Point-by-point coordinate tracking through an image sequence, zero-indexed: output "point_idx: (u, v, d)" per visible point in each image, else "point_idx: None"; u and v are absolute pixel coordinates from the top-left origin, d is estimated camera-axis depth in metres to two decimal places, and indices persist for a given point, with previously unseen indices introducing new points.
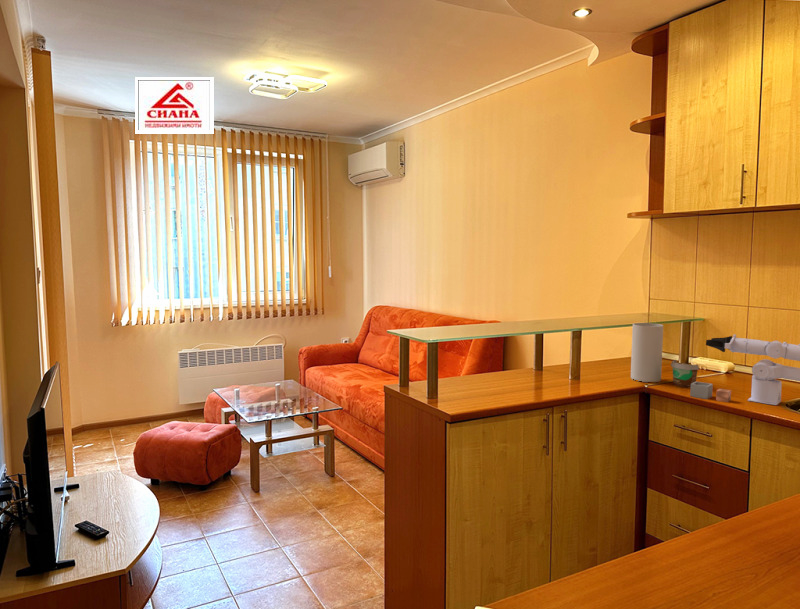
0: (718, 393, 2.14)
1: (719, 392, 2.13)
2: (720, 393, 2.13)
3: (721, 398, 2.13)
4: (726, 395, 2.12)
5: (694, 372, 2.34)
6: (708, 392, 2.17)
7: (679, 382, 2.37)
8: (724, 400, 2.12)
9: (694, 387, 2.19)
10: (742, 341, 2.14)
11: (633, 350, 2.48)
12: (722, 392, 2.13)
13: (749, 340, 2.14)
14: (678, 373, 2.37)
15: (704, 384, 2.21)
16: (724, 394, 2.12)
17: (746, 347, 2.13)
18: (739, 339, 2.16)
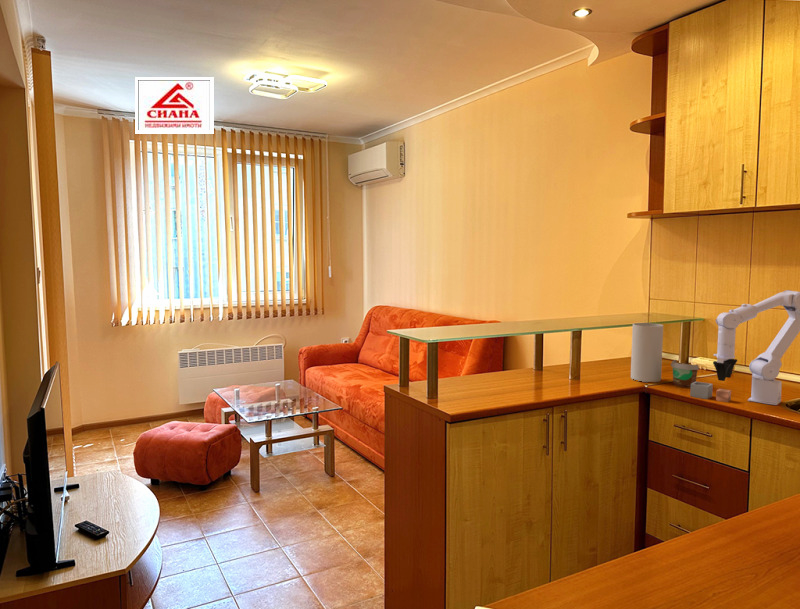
0: (718, 393, 2.14)
1: (719, 392, 2.13)
2: (720, 393, 2.13)
3: (721, 398, 2.13)
4: (726, 395, 2.12)
5: (694, 372, 2.34)
6: (708, 392, 2.17)
7: (679, 382, 2.37)
8: (724, 400, 2.12)
9: (694, 387, 2.19)
10: (719, 347, 2.12)
11: (633, 350, 2.48)
12: (722, 392, 2.13)
13: (721, 342, 2.11)
14: (678, 373, 2.37)
15: (704, 384, 2.21)
16: (724, 394, 2.12)
17: (724, 344, 2.10)
18: (717, 350, 2.13)
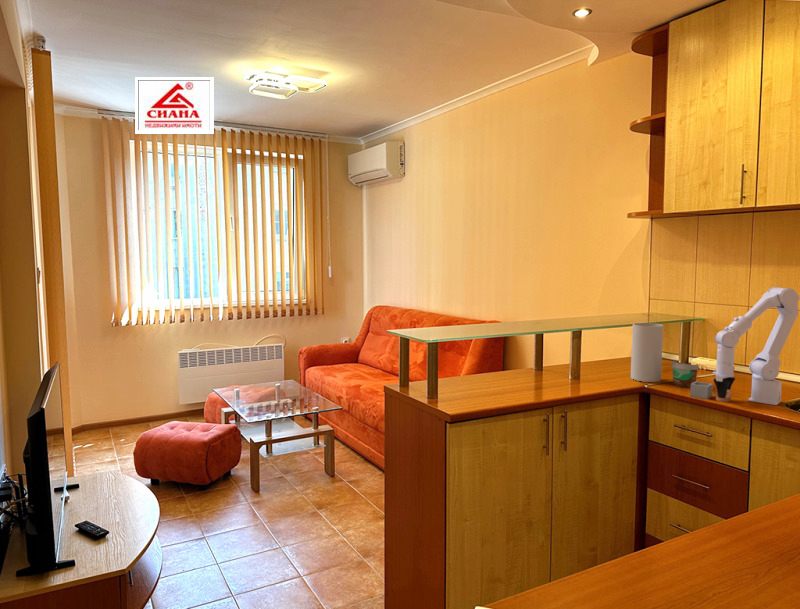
0: None
1: None
2: None
3: (721, 398, 2.13)
4: (726, 395, 2.12)
5: (694, 372, 2.34)
6: (708, 392, 2.17)
7: (679, 382, 2.37)
8: (724, 400, 2.12)
9: (694, 387, 2.19)
10: (718, 365, 2.13)
11: (633, 350, 2.48)
12: None
13: (720, 360, 2.12)
14: (678, 373, 2.37)
15: (704, 384, 2.21)
16: None
17: (723, 362, 2.11)
18: (716, 368, 2.14)
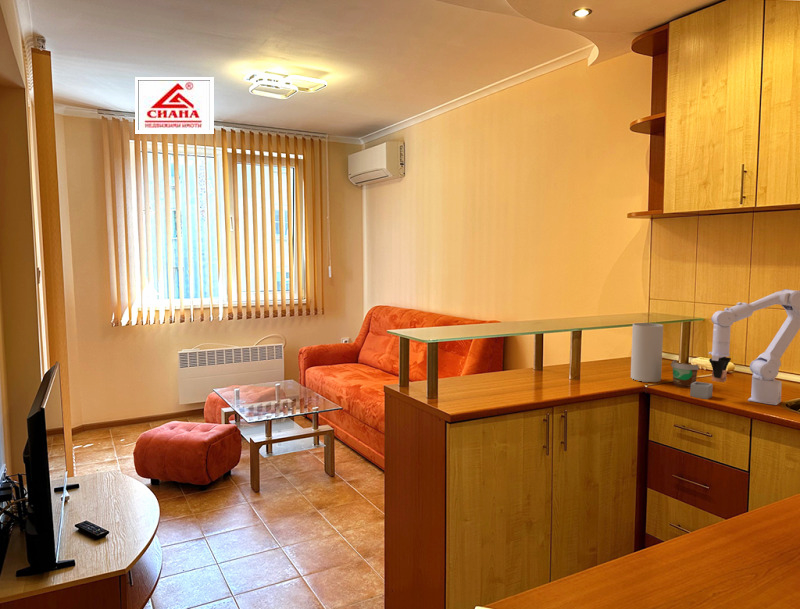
0: None
1: None
2: None
3: (717, 378, 2.14)
4: (722, 375, 2.12)
5: (694, 372, 2.34)
6: (708, 392, 2.17)
7: (679, 382, 2.37)
8: (720, 380, 2.13)
9: (694, 387, 2.19)
10: (714, 345, 2.14)
11: (633, 350, 2.48)
12: None
13: (715, 340, 2.13)
14: (678, 373, 2.37)
15: (704, 384, 2.21)
16: None
17: (719, 342, 2.11)
18: (712, 348, 2.15)
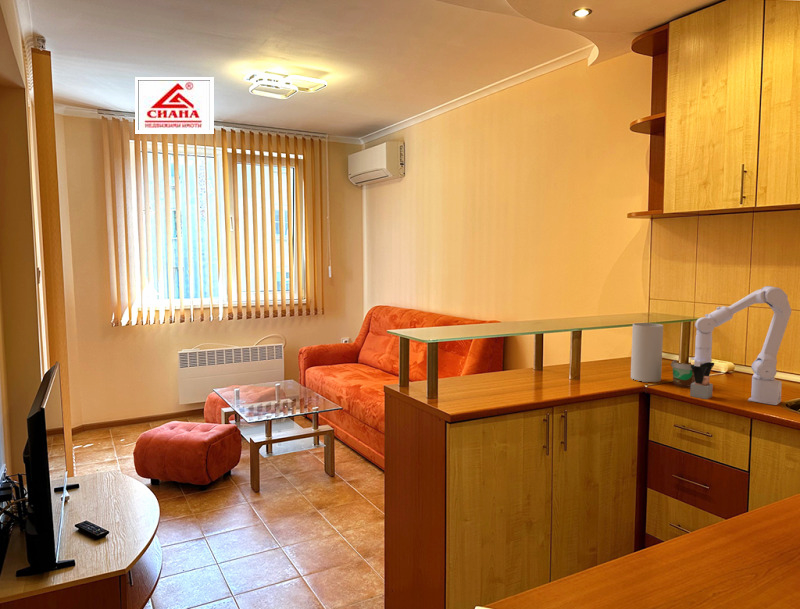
0: None
1: None
2: None
3: (700, 384, 2.19)
4: (704, 381, 2.17)
5: None
6: (708, 392, 2.17)
7: (679, 382, 2.37)
8: None
9: (694, 387, 2.19)
10: (696, 351, 2.18)
11: (633, 350, 2.48)
12: None
13: (696, 346, 2.18)
14: (678, 373, 2.37)
15: None
16: None
17: (701, 348, 2.16)
18: (695, 354, 2.20)
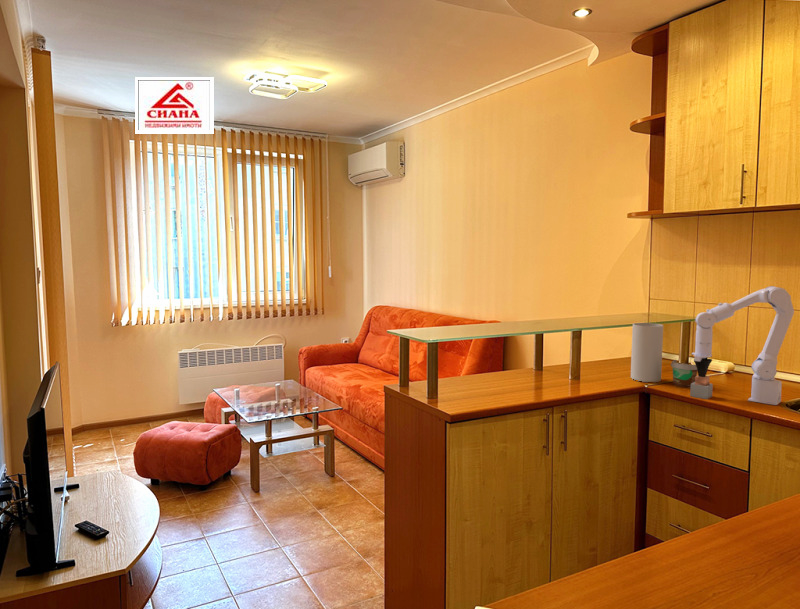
0: (697, 379, 2.19)
1: (698, 378, 2.19)
2: (699, 379, 2.19)
3: (700, 384, 2.19)
4: (704, 381, 2.17)
5: (694, 372, 2.34)
6: (708, 392, 2.17)
7: (679, 382, 2.37)
8: None
9: (694, 387, 2.19)
10: (696, 346, 2.18)
11: (633, 350, 2.48)
12: (700, 378, 2.18)
13: (697, 341, 2.18)
14: (678, 373, 2.37)
15: None
16: (702, 380, 2.18)
17: (702, 343, 2.16)
18: (695, 349, 2.19)
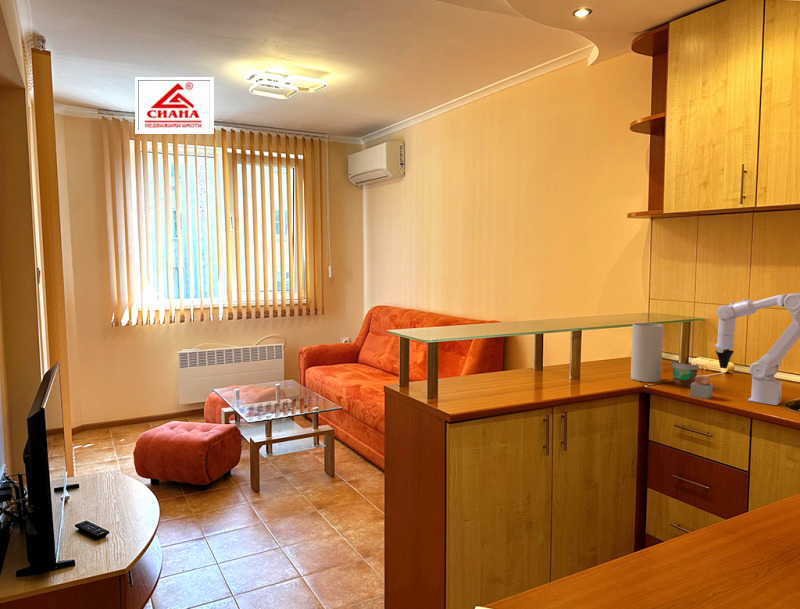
0: (697, 379, 2.19)
1: (698, 378, 2.19)
2: (699, 379, 2.19)
3: (700, 384, 2.19)
4: (704, 381, 2.17)
5: (694, 372, 2.34)
6: (708, 392, 2.17)
7: (679, 382, 2.37)
8: None
9: (694, 387, 2.19)
10: (719, 338, 2.23)
11: (633, 350, 2.48)
12: (700, 378, 2.18)
13: (718, 332, 2.24)
14: (677, 373, 2.37)
15: None
16: (702, 379, 2.18)
17: (724, 335, 2.21)
18: (717, 340, 2.24)
